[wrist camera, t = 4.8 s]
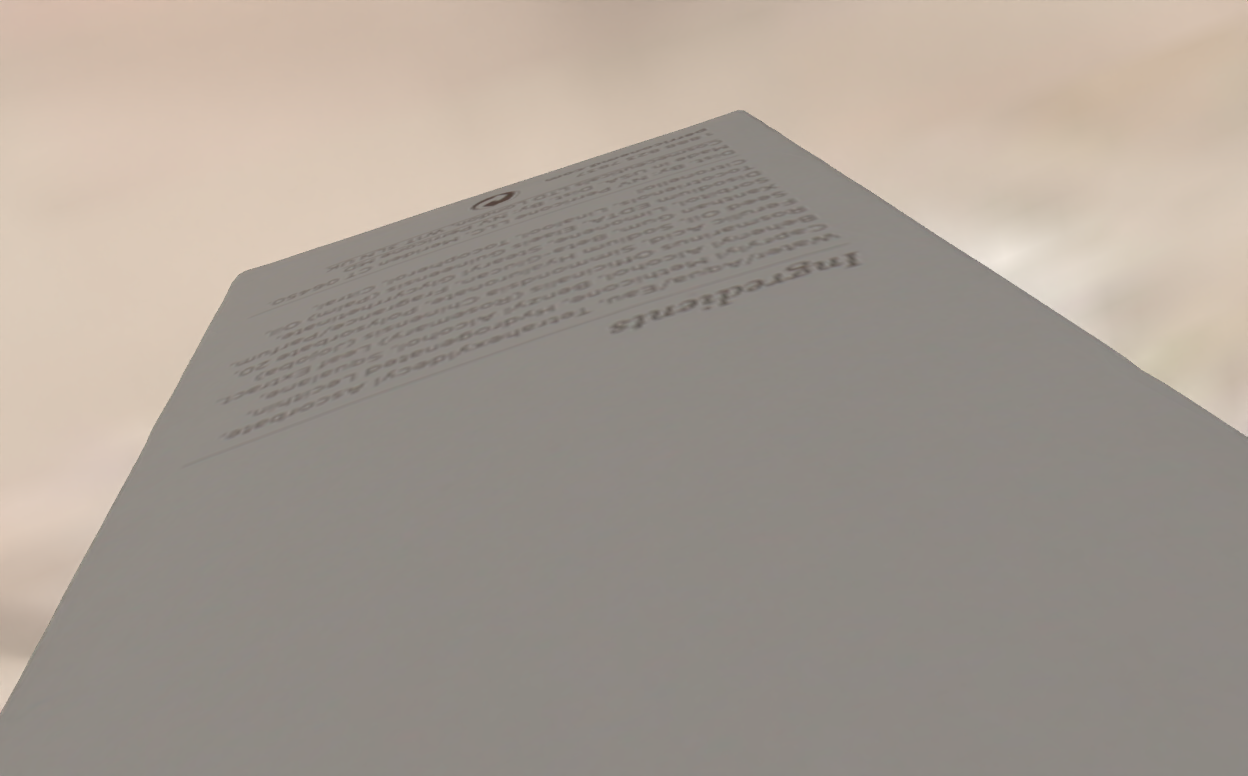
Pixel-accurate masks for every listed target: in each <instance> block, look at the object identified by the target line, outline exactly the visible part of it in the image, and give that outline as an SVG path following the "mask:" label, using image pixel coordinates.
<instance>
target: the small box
mask: <svg viewBox="0 0 1248 776" xmlns="http://www.w3.org/2000/svg"><path fill="white" fill-rule="evenodd" d="M0 776H1248V437H1246V436H1245V435H1243V434H1242V433H1240V432H1239V431H1237V430H1236V429H1234V428H1233V427H1231V426H1230V425H1228V424H1226V423H1225V422H1223V421H1222V420H1220V419H1219V418H1217V417H1216V416H1214V415H1213V414H1211V413H1210V412H1208V411H1207V410H1205V409H1204V408H1202V407H1200V406H1199V405H1197V404H1196V403H1194V402H1193V401H1191V400H1190V399H1188V398H1187V397H1185V396H1184V395H1182V394H1181V393H1179V392H1177V391H1176V390H1174V389H1173V388H1171V387H1170V386H1168V385H1166V384H1165V383H1163V382H1161V381H1160V380H1158V379H1156V378H1155V377H1153V376H1151V375H1149V374H1148V373H1146V372H1144V371H1142V370H1141V369H1140V368H1138V367H1137V366H1136V365H1134V364H1133V363H1132V362H1130V361H1129V360H1128V359H1126V358H1125V357H1124V356H1122V355H1121V354H1119V353H1118V352H1116V351H1115V350H1113V349H1112V348H1110V347H1109V346H1107V345H1106V344H1104V343H1103V342H1101V341H1100V340H1099V339H1097V338H1095V337H1094V336H1092V335H1091V334H1089V333H1088V332H1086V331H1085V330H1083V329H1081V328H1080V327H1078V326H1077V325H1075V324H1074V323H1072V322H1071V321H1069V320H1068V319H1066V318H1064V317H1063V316H1061V315H1060V314H1058V313H1057V312H1055V311H1054V310H1052V309H1051V308H1049V307H1048V306H1046V305H1045V304H1043V303H1041V302H1040V301H1038V300H1037V299H1035V298H1034V297H1032V296H1031V295H1029V294H1028V293H1026V292H1025V291H1023V290H1022V289H1020V288H1019V287H1017V286H1015V285H1014V284H1012V283H1011V282H1009V281H1008V280H1006V279H1005V278H1003V277H1002V276H1000V275H999V274H997V273H995V272H994V271H992V270H991V269H989V268H988V267H986V266H985V265H983V264H982V263H980V262H978V261H977V260H975V259H974V258H972V257H970V256H969V255H967V254H966V253H964V252H962V251H961V250H959V249H958V248H956V247H955V246H953V245H952V244H950V243H948V242H947V241H945V240H944V239H942V238H941V237H939V236H938V235H936V234H934V233H933V232H931V231H930V230H928V229H927V228H925V227H924V226H922V225H921V224H919V223H918V222H916V221H915V220H913V219H912V218H910V217H909V216H907V215H906V214H904V213H903V212H901V211H899V210H898V209H896V208H895V207H893V206H892V205H890V204H889V203H887V202H886V201H884V200H883V199H881V198H880V197H878V196H877V195H875V194H874V193H872V192H871V191H869V190H867V189H866V188H864V187H863V186H861V185H860V184H858V183H856V182H855V181H853V180H852V179H850V178H848V177H847V176H845V175H844V174H842V173H840V172H839V171H837V170H836V169H834V168H833V167H831V166H830V165H829V164H827V163H826V162H824V161H822V160H821V159H819V158H818V157H816V156H814V155H813V154H811V153H810V152H808V151H806V150H805V149H803V148H801V147H800V146H798V145H797V144H795V143H794V142H792V141H791V140H789V139H788V138H786V137H785V136H783V135H782V134H780V133H779V132H777V131H776V130H774V129H773V128H771V127H769V126H767V125H766V124H765V123H763V122H762V121H760V120H758V119H757V118H755V117H753V116H752V115H750V114H749V113H747V112H745V111H742V110H737V111H734V112H731V113H729V114H726V115H723V116H720V117H717V118H714V119H711V120H708V121H705V122H702V123H699V124H696V125H693V126H690V127H687V128H684V129H681V130H678V131H675V132H672V133H669V134H666V135H662V136H659V137H656V138H653V139H650V140H647V141H644V142H640V143H637V144H634V145H631V146H628V147H625V148H622V149H619V150H616V151H613V152H610V153H607V154H603V155H600V156H597V157H594V158H591V159H588V160H585V161H582V162H579V163H576V164H573V165H570V166H567V167H564V168H561V169H557V170H554V171H551V172H548V173H545V174H542V175H539V176H536V177H533V178H530V179H527V180H524V181H521V182H518V183H514V184H511V185H508V186H505V187H502V188H499V189H496V190H493V191H490V192H486V193H483V194H480V195H477V196H474V197H471V198H468V199H465V200H462V201H458V202H455V203H452V204H449V205H446V206H443V207H440V208H437V209H434V210H431V211H428V212H425V213H422V214H419V215H416V216H413V217H410V218H407V219H404V220H401V221H398V222H395V223H392V224H389V225H386V226H383V227H380V228H377V229H374V230H371V231H368V232H365V233H362V234H359V235H356V236H353V237H349V238H346V239H343V240H340V241H337V242H334V243H331V244H328V245H325V246H322V247H318V248H315V249H312V250H309V251H306V252H303V253H300V254H297V255H294V256H291V257H288V258H285V259H282V260H279V261H276V262H273V263H270V264H267V265H264V266H260V267H257V268H253V269H250V270H247V271H245V272H243V273H241V274H239V275H238V276H237V278H236V279H235V280H234V281H233V282H232V284H231V286H230V288H229V290H228V292H227V294H226V296H225V298H224V300H223V302H222V304H221V306H220V308H219V309H218V311H217V313H216V314H215V316H214V318H213V320H212V321H211V323H210V325H209V327H208V329H207V331H206V332H205V334H204V336H203V338H202V340H201V342H200V344H199V346H198V347H197V349H196V351H195V353H194V355H193V357H192V358H191V360H190V362H189V364H188V366H187V368H186V369H185V371H184V373H183V375H182V377H181V379H180V381H179V383H178V385H177V387H176V389H175V390H174V392H173V394H172V396H171V398H170V399H169V401H168V403H167V404H166V406H165V408H164V409H163V411H162V413H161V415H160V416H159V418H158V420H157V422H156V423H155V425H154V427H153V429H152V431H151V433H150V436H149V438H148V440H147V443H146V444H145V446H144V448H143V450H142V452H141V454H140V456H139V458H138V460H137V462H136V463H135V465H134V466H133V468H132V470H131V472H130V474H129V476H128V478H127V480H126V482H125V483H124V485H123V487H122V489H121V491H120V492H119V494H118V496H117V498H116V500H115V502H114V503H113V505H112V507H111V509H110V511H109V513H108V514H107V516H106V518H105V520H104V522H103V524H102V526H101V528H100V530H99V531H98V533H97V535H96V537H95V539H94V540H93V542H92V544H91V546H90V548H89V549H88V551H87V553H86V555H85V557H84V558H83V560H82V562H81V564H80V566H79V568H78V569H77V571H76V573H75V575H74V577H73V579H72V581H71V582H70V584H69V586H68V588H67V590H66V592H65V594H64V595H63V597H62V599H61V601H60V603H59V605H58V607H57V609H56V611H55V613H54V615H53V617H52V619H51V621H50V623H49V625H48V627H47V629H46V630H45V632H44V634H43V636H42V638H41V639H40V641H39V643H38V645H37V647H36V648H35V650H34V652H33V654H32V656H31V658H30V660H29V662H28V664H27V666H26V667H25V669H24V671H23V673H22V675H21V677H20V679H19V681H18V683H17V684H16V686H15V688H14V690H13V692H12V693H11V695H10V697H9V699H8V701H7V702H6V704H5V706H4V708H3V710H2V711H1V713H0Z"/></svg>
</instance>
